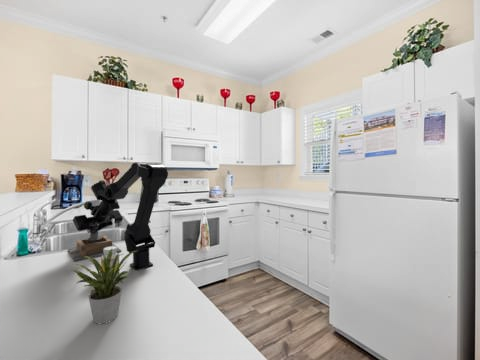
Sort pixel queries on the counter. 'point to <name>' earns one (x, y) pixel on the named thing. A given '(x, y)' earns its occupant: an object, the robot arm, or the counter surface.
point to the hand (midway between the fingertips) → (92, 231)
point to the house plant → (104, 288)
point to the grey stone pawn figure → (94, 235)
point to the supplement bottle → (114, 253)
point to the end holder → (90, 249)
